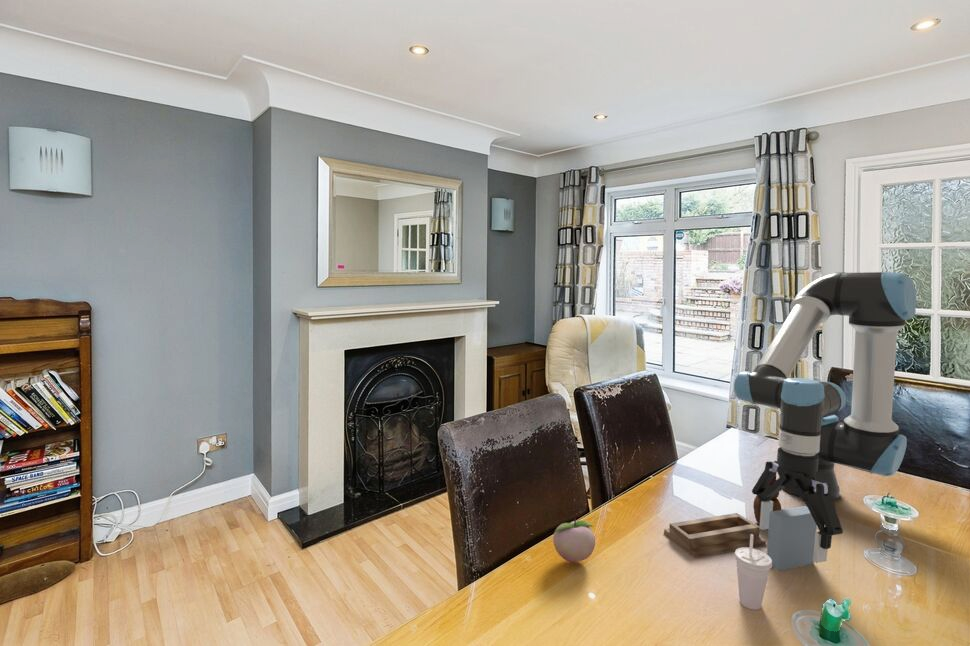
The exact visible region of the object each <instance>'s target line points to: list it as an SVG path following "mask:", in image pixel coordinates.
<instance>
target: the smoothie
mask: <svg viewBox="0 0 970 646" xmlns="http://www.w3.org/2000/svg"><path fill="white" fill-rule="evenodd" d="M753 536H754V535H753V534H750V547H749V548H747V547H743V548H738V549H736V550H734V551H735V552H734V556H733V557H734V559H735V561H736V568H737V569H736V573H737V581H738V582H737V583H738V596H739V602H740V604H741V605H742V606H743V607H745V608H747V609H750V610H760V609H761V608H762V606H763V605H762V604H763V600H764V596H765V591H766V586H767V583H768V577H769V573H770V570H771V569H772V568H773V567H772V559H771V558H770V557H769V556H768V555H767V553H765V552H764V551H762V550H759V549H756V548H754V547H753Z"/></svg>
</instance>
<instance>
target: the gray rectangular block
mask: <svg viewBox="0 0 970 646" xmlns="http://www.w3.org/2000/svg"><path fill="white" fill-rule="evenodd" d="M767 530H768V534H767V547H766V548H767V549H766V554H767V555H768V556H769V557H770V558H771V559H772V568H773V569H774V570H775V571H777V572H780V571H784V570H790V569H794V568H795V569H796V568H799V567H804V566H809V565H814V563H815V562H814V561H813V555H814V543H815V531H817V525H816V523H815V521H814V519H813V517H812V515H811V513H810V511H809V509H808V507H807V505H803V506H796V507H789V508H784V509H783V508H782V510H777V511H770V515H769V529H767Z"/></svg>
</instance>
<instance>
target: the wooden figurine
mask: <svg viewBox="0 0 970 646" xmlns="http://www.w3.org/2000/svg"><path fill="white" fill-rule="evenodd" d="M776 480H777V474H776V475H775V476H774V478H773V479H772V481H771V482H770V484H769V486H768V487H770V486H771V485H772V484H773V483H774V482H775V481H776ZM768 487H767V488H768ZM779 495H780V492H778V493H777V494H776V495H774V496H773V497H772V499H769V500H771V501H773V511H777V510H783V508H782V505H781V502H780V500H779V499H778V498H779ZM769 500H768V501H769ZM752 506H753V514H754V518H755V521H756V522H757V524H758V525H760V512H759V499H758V496H757V495H756V496H754V501H753V505H752Z"/></svg>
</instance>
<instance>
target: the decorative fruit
mask: <svg viewBox="0 0 970 646" xmlns="http://www.w3.org/2000/svg"><path fill="white" fill-rule="evenodd" d="M590 527H592V528H593V527H594V526H593V524H592V523H591V522H589V521H587V520H577V519H576V518H574V520H573V521H570V522H564V523H561V524H559V526H557V527H556V529H555V530H554V532H553V536H552V541H553V546H554V549H555V551H556V552H557V554H558V555H559V556H560V557H561V558H562V559H563V560H565V561H567V562H570V563H578V562H581V561H585V560H587V559H588V558H590V557H591V555H592V554H593V552H594V550H595V546H596V538H595V534H594V532H593V530H592V529H591V528H590Z"/></svg>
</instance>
